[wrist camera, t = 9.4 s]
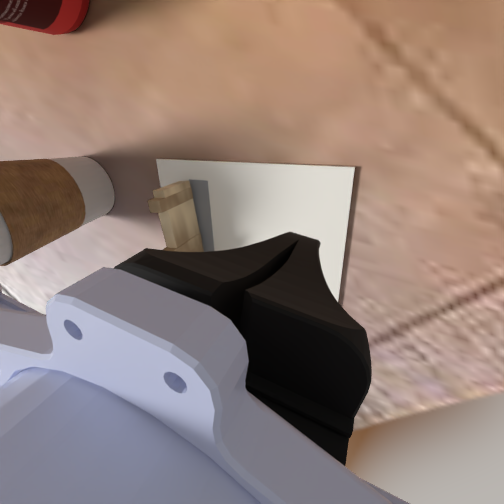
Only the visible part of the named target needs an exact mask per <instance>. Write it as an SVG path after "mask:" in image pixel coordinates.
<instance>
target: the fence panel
mask: <svg viewBox="0 0 504 504" xmlns="http://www.w3.org/2000/svg"><path fill="white" fill-rule="evenodd" d="M153 195H154V198H153V199H150V200H148V201H147V202H148V206H149V209H150V213H158V215H159V219H160V222H161V226H162V230H163V234H164V238H165V242H166V246H167V247H166V248H165V249H163V250H166V251H177V252H204V251H203V246H202V238H201V234H200V231H199V226H198V221H197V216H196V211H195V206H194V201H193V194H192V189H191V187H190V182H189V181H178V182H175V183H172V184H170V185H167V186H164V187H161V188H159V189H156V190H153Z"/></svg>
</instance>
